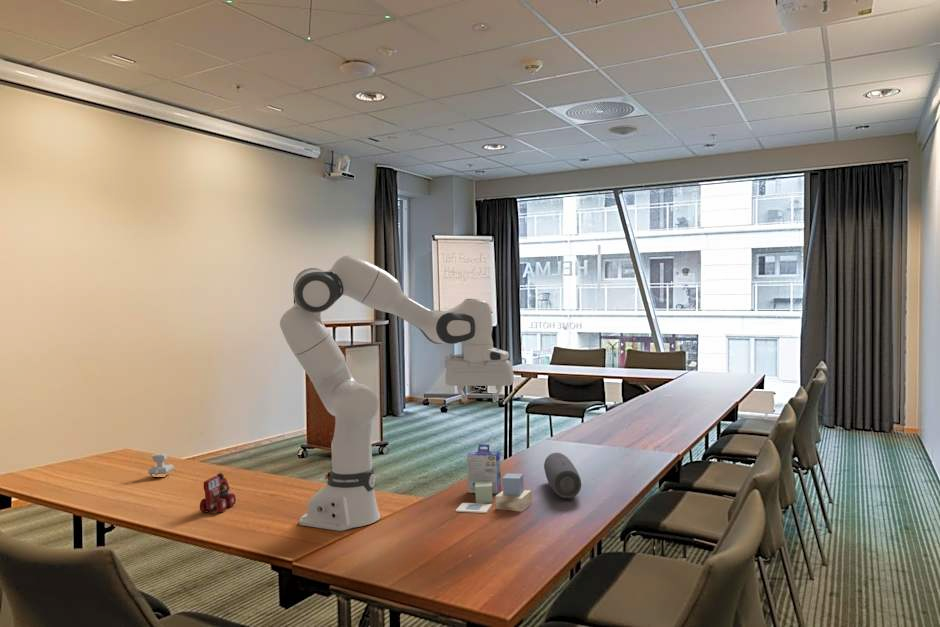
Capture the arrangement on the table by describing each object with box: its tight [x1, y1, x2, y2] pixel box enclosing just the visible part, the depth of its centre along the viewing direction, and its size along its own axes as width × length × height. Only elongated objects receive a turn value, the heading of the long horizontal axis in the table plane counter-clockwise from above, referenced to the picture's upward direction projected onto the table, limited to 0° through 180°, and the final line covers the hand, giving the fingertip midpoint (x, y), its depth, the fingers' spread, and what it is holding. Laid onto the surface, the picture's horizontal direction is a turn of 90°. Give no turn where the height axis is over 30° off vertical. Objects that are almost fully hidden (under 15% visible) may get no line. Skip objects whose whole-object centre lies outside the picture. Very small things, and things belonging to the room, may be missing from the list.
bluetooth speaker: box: [543, 452, 582, 499], centre depth 200 cm, size 23×9×10 cm, turn 0°
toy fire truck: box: [199, 472, 237, 513], centre depth 197 cm, size 7×12×10 cm, turn 172°
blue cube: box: [501, 472, 525, 496], centre depth 188 cm, size 5×5×5 cm
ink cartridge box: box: [466, 444, 502, 495], centre depth 203 cm, size 10×6×14 cm, turn 75°
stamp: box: [147, 452, 175, 476], centre depth 240 cm, size 9×7×8 cm
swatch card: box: [455, 502, 493, 514], centre depth 187 cm, size 9×7×1 cm
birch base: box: [495, 489, 533, 512], centre depth 188 cm, size 8×8×4 cm
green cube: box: [474, 481, 494, 504], centre depth 194 cm, size 5×5×5 cm
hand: (479, 401), depth 190 cm, fingers open, 8 cm apart
